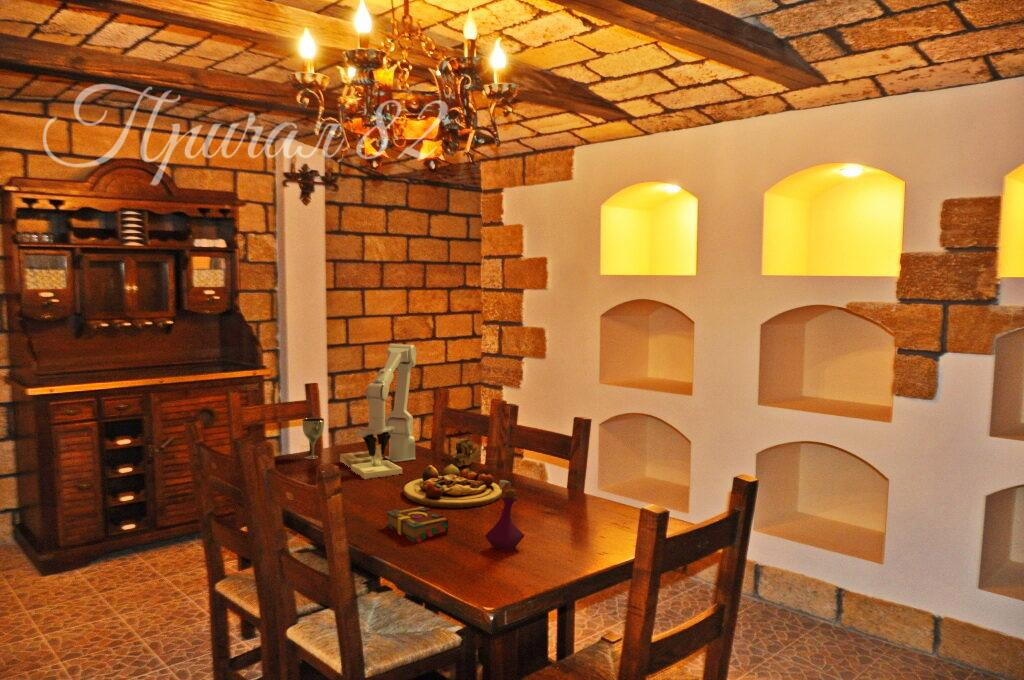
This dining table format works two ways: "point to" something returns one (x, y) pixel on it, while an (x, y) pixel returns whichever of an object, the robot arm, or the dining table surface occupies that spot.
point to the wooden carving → (464, 453)
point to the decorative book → (417, 523)
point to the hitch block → (355, 458)
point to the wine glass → (313, 431)
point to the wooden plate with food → (452, 488)
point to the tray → (376, 470)
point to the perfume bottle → (505, 524)
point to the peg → (377, 455)
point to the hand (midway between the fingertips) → (376, 454)
